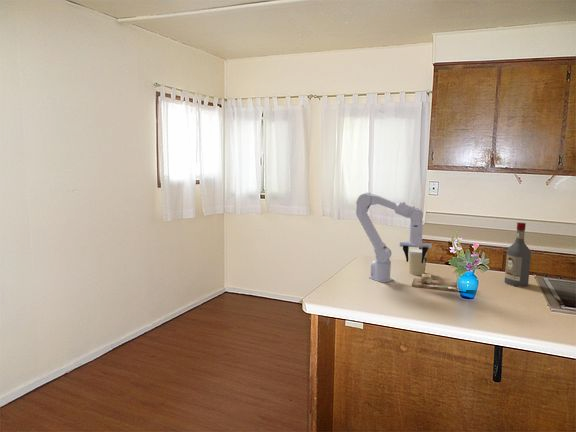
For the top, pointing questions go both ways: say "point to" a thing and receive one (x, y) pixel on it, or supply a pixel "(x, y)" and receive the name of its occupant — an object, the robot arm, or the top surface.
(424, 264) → the coffee cup
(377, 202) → the robot arm
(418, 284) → the gauge base
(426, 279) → the gauge slider
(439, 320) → the top surface
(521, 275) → the liquor
